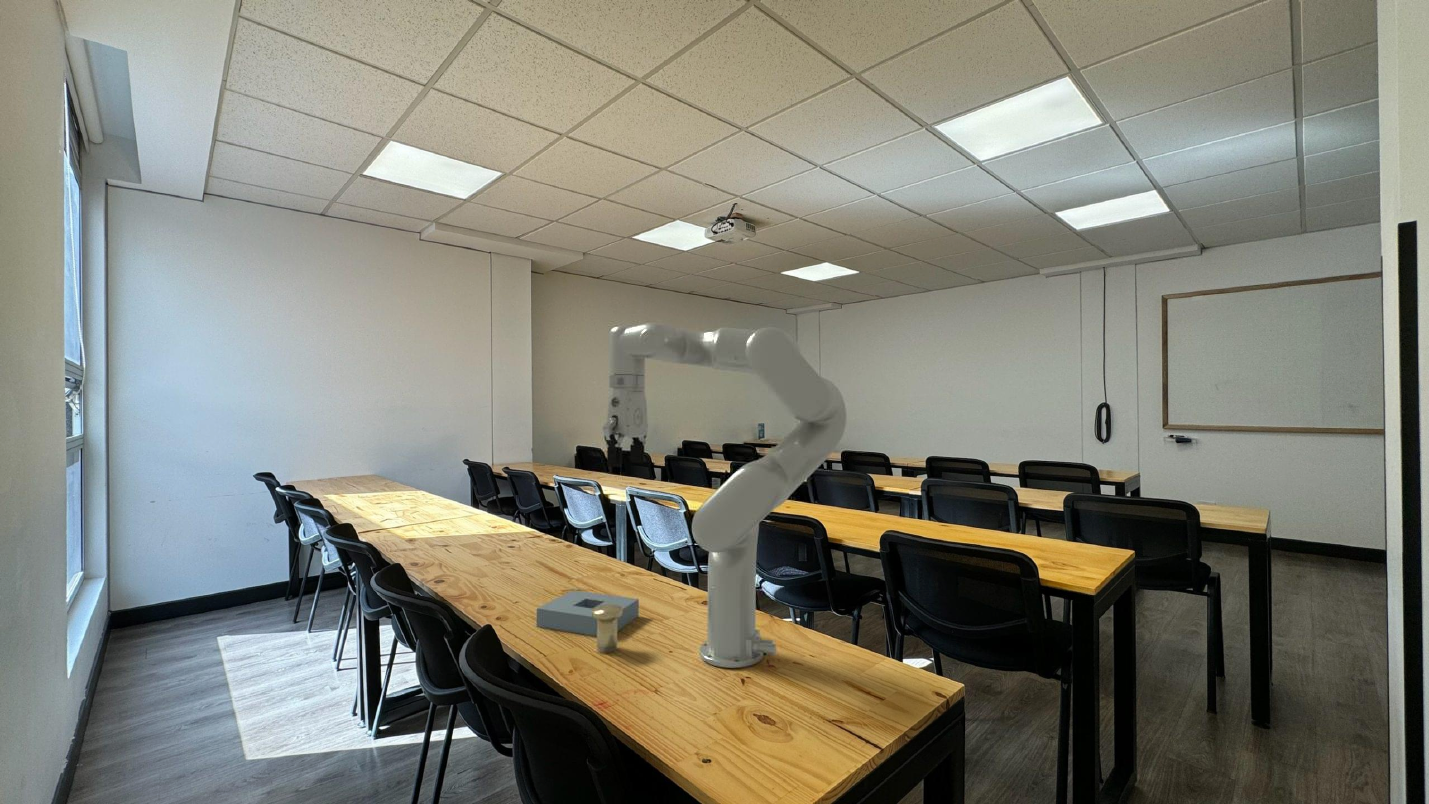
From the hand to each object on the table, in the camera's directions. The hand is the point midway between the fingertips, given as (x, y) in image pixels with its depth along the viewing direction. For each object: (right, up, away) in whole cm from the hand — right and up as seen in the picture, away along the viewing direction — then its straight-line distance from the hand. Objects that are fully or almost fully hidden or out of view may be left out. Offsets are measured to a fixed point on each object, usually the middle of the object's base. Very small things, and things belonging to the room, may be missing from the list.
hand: (626, 464), depth 123 cm
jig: (-10, -37, +8) cm, 39 cm away
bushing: (-3, -36, -7) cm, 37 cm away
